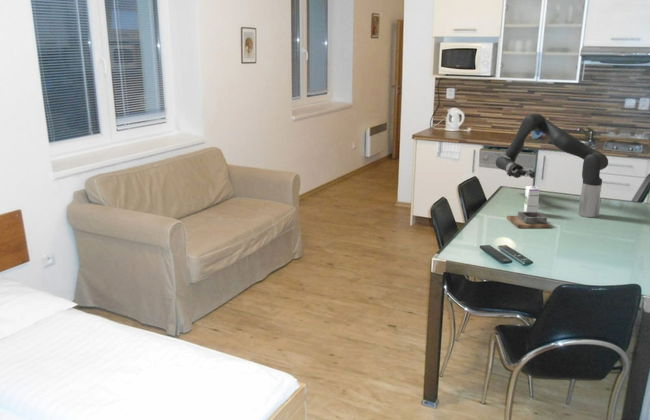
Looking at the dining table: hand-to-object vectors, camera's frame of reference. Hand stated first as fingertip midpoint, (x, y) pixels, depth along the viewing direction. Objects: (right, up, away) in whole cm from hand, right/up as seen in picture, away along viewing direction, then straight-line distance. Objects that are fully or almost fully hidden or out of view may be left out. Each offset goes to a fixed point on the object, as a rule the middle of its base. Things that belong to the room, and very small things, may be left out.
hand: (525, 176), depth 314 cm
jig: (-7, -25, -22) cm, 34 cm away
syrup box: (0, -20, -6) cm, 21 cm away
